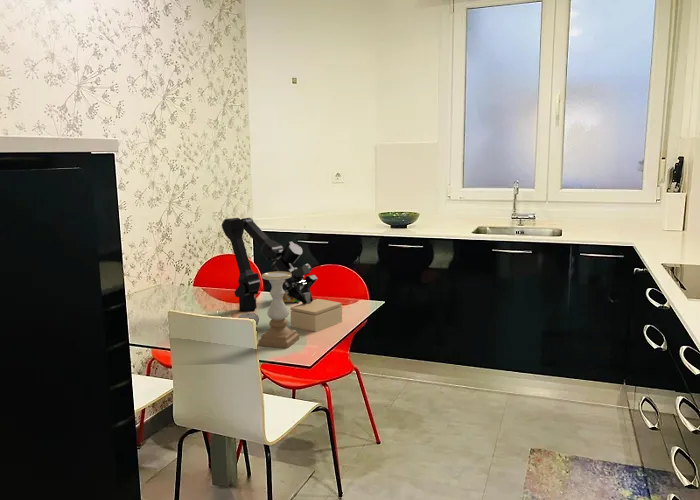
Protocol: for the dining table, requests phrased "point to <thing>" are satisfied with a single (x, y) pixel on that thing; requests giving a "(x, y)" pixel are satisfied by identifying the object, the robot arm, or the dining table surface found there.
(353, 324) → the dining table surface
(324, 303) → the lid
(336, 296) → the dining table surface
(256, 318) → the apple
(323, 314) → the wooden box
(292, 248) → the robot arm
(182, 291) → the dining table surface
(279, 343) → the candle holder
